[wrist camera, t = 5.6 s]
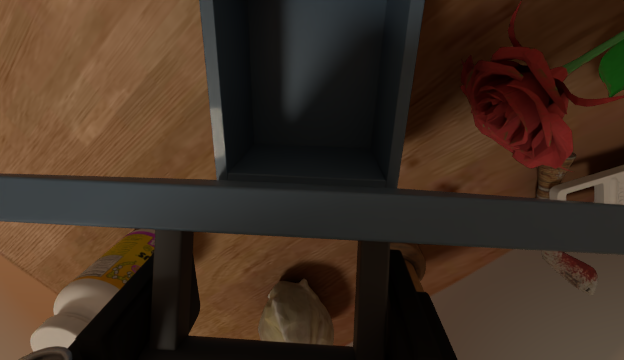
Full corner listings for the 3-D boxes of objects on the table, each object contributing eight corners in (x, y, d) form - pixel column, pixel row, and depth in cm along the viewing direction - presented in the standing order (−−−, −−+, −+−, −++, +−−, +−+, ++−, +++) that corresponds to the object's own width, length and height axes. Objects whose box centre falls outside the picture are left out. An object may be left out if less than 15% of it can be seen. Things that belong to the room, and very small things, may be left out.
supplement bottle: (190, 270, 35) (119, 377, 23) (139, 277, 36) (45, 384, 24) (169, 221, 33) (78, 313, 21) (115, 230, 34) (-2, 323, 22)
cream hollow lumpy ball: (286, 257, 37) (267, 289, 27) (349, 287, 36) (353, 331, 26) (255, 324, 37) (226, 380, 27) (316, 355, 37) (309, 423, 27)
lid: (-106, 170, 5) (-126, 505, 5) (644, 206, 5) (630, 575, 5) (215, 179, 21) (210, 263, 21) (398, 188, 20) (394, 274, 20)
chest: (238, -28, 24) (191, -75, 16) (398, -25, 23) (435, -71, 15) (248, 148, 29) (216, 183, 21) (377, 154, 29) (396, 191, 21)
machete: (611, 301, 33) (565, 318, 33) (589, 283, 35) (547, 300, 36) (590, 141, 24) (529, 169, 25) (563, 132, 27) (508, 158, 27)
